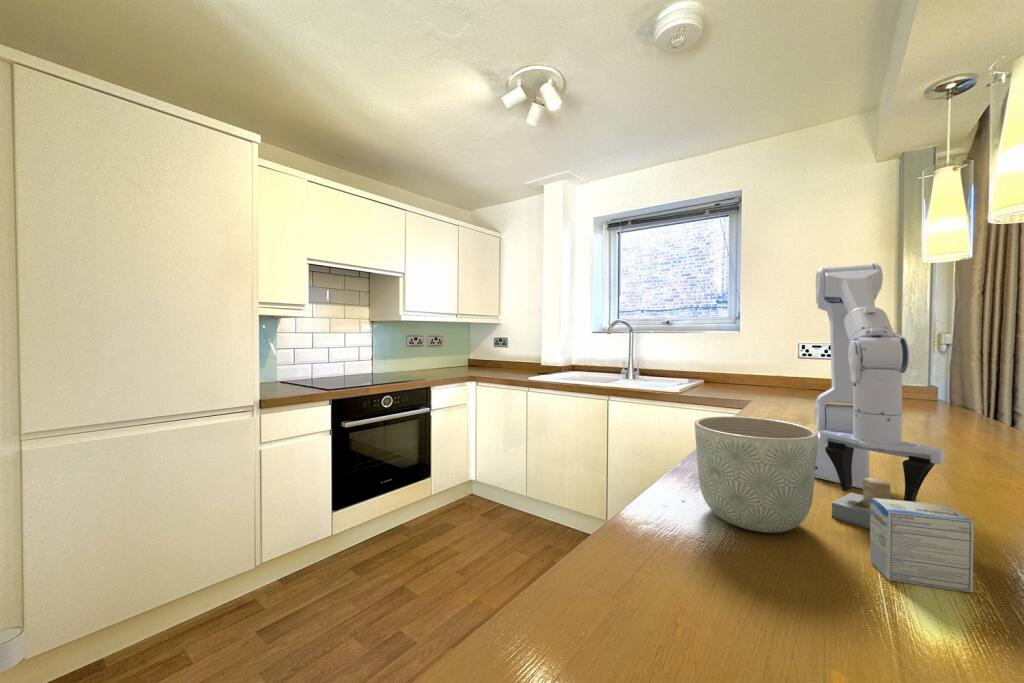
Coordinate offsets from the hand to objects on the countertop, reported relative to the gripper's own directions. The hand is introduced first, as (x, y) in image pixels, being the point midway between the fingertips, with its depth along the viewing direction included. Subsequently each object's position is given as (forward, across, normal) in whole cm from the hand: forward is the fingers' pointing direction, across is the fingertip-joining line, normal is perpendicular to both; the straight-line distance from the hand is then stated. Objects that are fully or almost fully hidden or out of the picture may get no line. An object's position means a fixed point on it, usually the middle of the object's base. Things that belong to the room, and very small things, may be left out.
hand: (876, 497), depth 63 cm
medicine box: (+4, +8, -15) cm, 18 cm away
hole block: (+4, 0, 0) cm, 4 cm away
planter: (+4, -11, -16) cm, 20 cm away
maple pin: (+3, 0, 0) cm, 3 cm away
